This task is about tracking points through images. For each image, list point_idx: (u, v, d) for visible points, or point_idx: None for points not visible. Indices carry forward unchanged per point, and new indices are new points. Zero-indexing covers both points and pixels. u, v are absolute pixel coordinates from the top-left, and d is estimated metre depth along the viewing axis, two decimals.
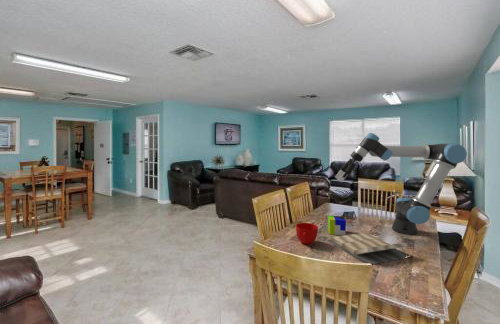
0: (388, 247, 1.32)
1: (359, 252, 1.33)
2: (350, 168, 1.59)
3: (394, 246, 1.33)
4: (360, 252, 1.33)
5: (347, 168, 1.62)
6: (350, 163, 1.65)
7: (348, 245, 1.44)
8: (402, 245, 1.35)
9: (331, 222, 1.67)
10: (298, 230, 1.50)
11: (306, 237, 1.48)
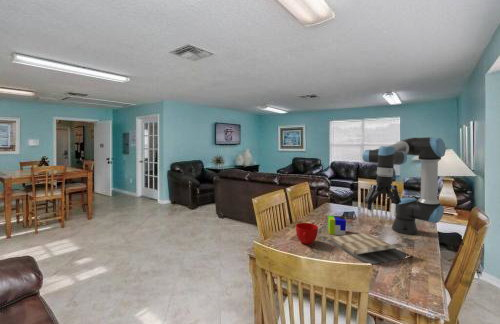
0: (388, 247, 1.32)
1: (359, 252, 1.33)
2: None
3: (394, 246, 1.33)
4: (360, 252, 1.33)
5: (395, 198, 1.34)
6: None
7: (348, 245, 1.44)
8: (402, 245, 1.35)
9: (331, 222, 1.67)
10: (298, 230, 1.50)
11: (306, 237, 1.48)
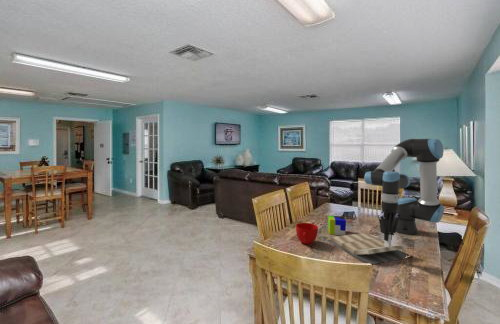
0: (388, 249, 1.32)
1: (359, 253, 1.33)
2: None
3: (394, 248, 1.33)
4: (360, 253, 1.33)
5: (392, 228, 1.31)
6: None
7: (348, 245, 1.44)
8: (402, 247, 1.35)
9: (331, 222, 1.67)
10: (298, 230, 1.50)
11: (306, 237, 1.48)
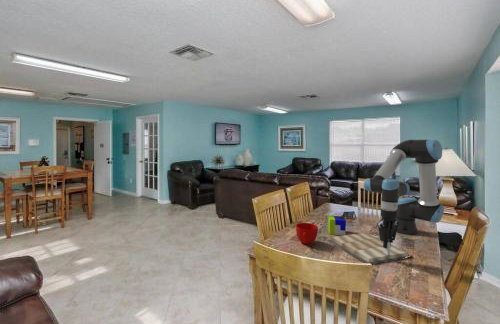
0: (389, 257, 1.32)
1: (359, 255, 1.34)
2: None
3: (395, 256, 1.33)
4: (360, 256, 1.33)
5: (391, 236, 1.31)
6: None
7: (348, 245, 1.44)
8: (403, 255, 1.35)
9: (331, 222, 1.67)
10: (298, 230, 1.50)
11: (306, 237, 1.48)
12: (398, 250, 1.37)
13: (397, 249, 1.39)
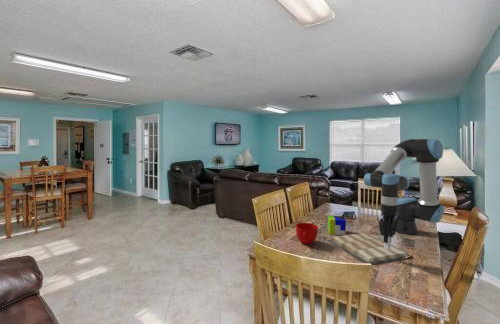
0: (389, 257, 1.32)
1: (359, 255, 1.34)
2: None
3: (395, 256, 1.33)
4: (360, 256, 1.33)
5: (392, 230, 1.31)
6: None
7: (348, 245, 1.44)
8: (403, 255, 1.35)
9: (331, 222, 1.67)
10: (298, 230, 1.50)
11: (306, 237, 1.48)
12: (398, 250, 1.37)
13: (397, 249, 1.39)
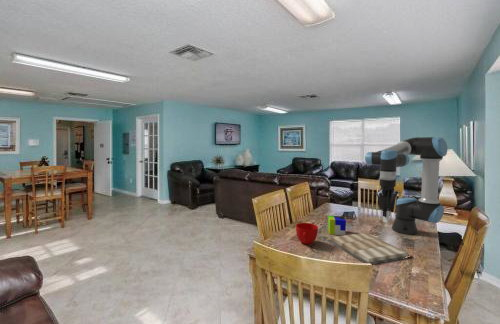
0: (389, 257, 1.32)
1: (359, 255, 1.34)
2: None
3: (395, 256, 1.33)
4: (360, 256, 1.33)
5: (390, 204, 1.36)
6: None
7: (348, 245, 1.44)
8: (403, 255, 1.35)
9: (331, 222, 1.67)
10: (298, 230, 1.50)
11: (306, 237, 1.48)
12: (398, 250, 1.37)
13: (397, 249, 1.39)
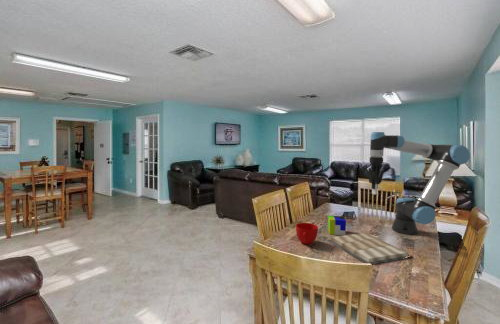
0: (389, 257, 1.32)
1: (359, 255, 1.34)
2: None
3: (395, 256, 1.33)
4: (360, 256, 1.33)
5: (378, 179, 1.59)
6: None
7: (348, 245, 1.44)
8: (403, 255, 1.35)
9: (331, 222, 1.67)
10: (298, 230, 1.50)
11: (306, 237, 1.48)
12: (398, 250, 1.37)
13: (397, 249, 1.39)
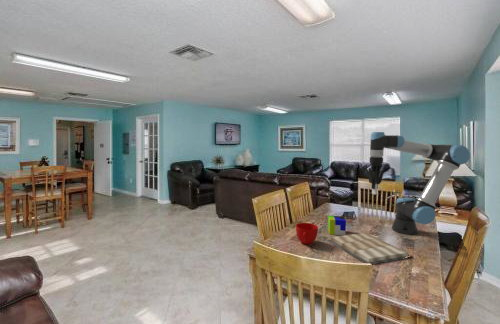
0: (389, 257, 1.32)
1: (359, 255, 1.34)
2: None
3: (395, 256, 1.33)
4: (360, 256, 1.33)
5: (378, 178, 1.59)
6: None
7: (348, 245, 1.44)
8: (403, 255, 1.35)
9: (331, 222, 1.67)
10: (298, 230, 1.50)
11: (306, 237, 1.48)
12: (398, 250, 1.37)
13: (397, 249, 1.39)
